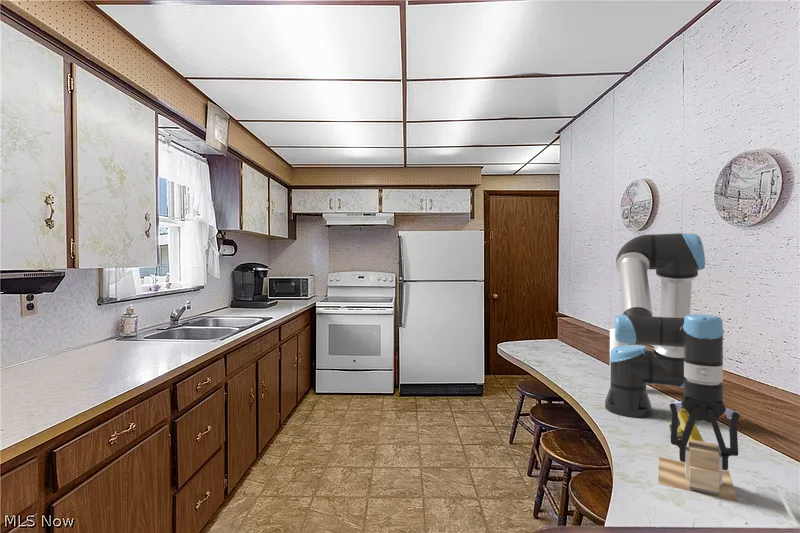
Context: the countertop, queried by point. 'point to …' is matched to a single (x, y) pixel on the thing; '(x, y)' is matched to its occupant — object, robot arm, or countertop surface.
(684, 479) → the board
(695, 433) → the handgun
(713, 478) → the block
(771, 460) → the countertop surface
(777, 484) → the countertop surface
